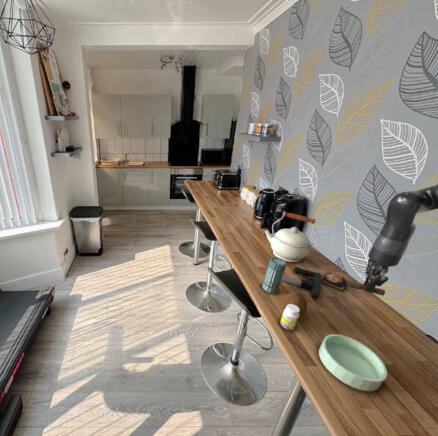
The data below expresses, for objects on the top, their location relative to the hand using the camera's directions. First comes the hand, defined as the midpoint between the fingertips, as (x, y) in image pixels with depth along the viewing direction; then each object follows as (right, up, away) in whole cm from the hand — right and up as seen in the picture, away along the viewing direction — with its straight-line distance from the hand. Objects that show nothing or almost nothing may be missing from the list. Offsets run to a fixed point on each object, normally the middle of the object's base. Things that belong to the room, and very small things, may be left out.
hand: (367, 289), depth 85 cm
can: (-25, -6, +21) cm, 33 cm away
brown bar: (0, 0, 0) cm, 0 cm away
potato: (-22, -12, +9) cm, 26 cm away
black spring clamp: (-7, -5, +26) cm, 27 cm away
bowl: (-17, -21, -11) cm, 29 cm away
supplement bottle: (-28, -14, +3) cm, 31 cm away
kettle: (-2, +5, +49) cm, 49 cm away
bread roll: (+10, -5, +27) cm, 29 cm away
